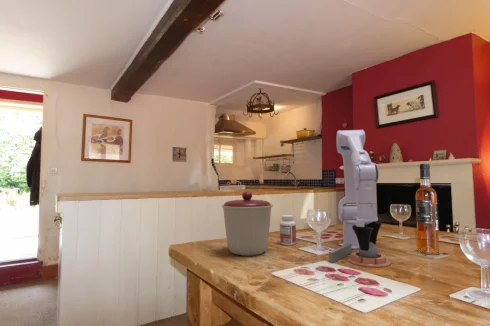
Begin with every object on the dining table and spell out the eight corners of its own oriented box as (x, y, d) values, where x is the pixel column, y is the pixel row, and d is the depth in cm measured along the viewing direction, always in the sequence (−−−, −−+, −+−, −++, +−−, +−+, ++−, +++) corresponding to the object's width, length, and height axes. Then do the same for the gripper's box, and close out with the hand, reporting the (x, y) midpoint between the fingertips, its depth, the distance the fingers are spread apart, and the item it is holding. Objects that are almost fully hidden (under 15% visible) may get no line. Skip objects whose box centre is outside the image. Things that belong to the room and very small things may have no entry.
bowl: (368, 255, 97) (367, 248, 97) (399, 264, 86) (399, 257, 86) (339, 259, 92) (339, 252, 92) (369, 269, 81) (368, 262, 81)
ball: (368, 256, 92) (367, 239, 93) (382, 261, 87) (381, 242, 88) (354, 258, 90) (354, 240, 91) (368, 263, 85) (368, 244, 86)
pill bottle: (291, 241, 119) (290, 214, 119) (299, 244, 113) (298, 216, 114) (277, 243, 117) (277, 215, 117) (284, 246, 111) (284, 216, 111)
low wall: (348, 252, 101) (347, 243, 101) (351, 252, 100) (351, 243, 100) (329, 262, 88) (329, 252, 88) (333, 263, 88) (332, 252, 88)
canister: (226, 261, 91) (225, 193, 92) (218, 248, 108) (218, 191, 110) (281, 257, 95) (280, 192, 96) (264, 245, 112) (264, 190, 114)
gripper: (360, 201, 98) (361, 242, 97) (345, 204, 87) (346, 250, 86) (383, 202, 94) (384, 244, 93) (370, 205, 82) (371, 254, 82)
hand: (368, 247), depth 89 cm, fingers open, 7 cm apart
